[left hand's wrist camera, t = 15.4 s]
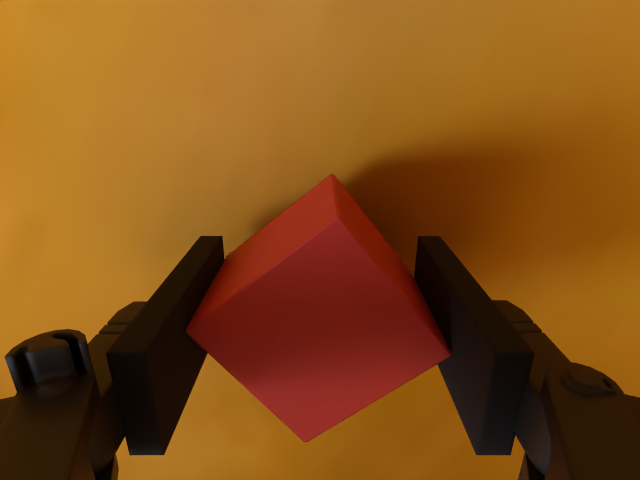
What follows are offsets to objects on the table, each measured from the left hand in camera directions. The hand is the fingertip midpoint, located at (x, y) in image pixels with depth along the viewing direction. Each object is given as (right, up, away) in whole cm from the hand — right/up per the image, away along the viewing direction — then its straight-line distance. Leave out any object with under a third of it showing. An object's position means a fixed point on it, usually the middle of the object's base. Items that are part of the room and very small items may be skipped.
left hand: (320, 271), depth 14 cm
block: (0, 0, 0) cm, 0 cm away
